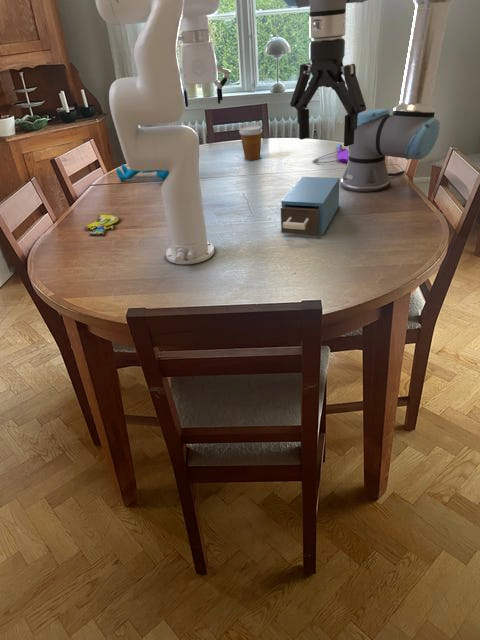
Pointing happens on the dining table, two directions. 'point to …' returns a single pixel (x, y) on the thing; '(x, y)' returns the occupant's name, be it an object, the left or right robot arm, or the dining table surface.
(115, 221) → the toy
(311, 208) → the drawer
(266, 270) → the dining table surface
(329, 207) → the blue drawer cabinet
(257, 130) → the disposable coffee cup
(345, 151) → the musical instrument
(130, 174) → the toy
